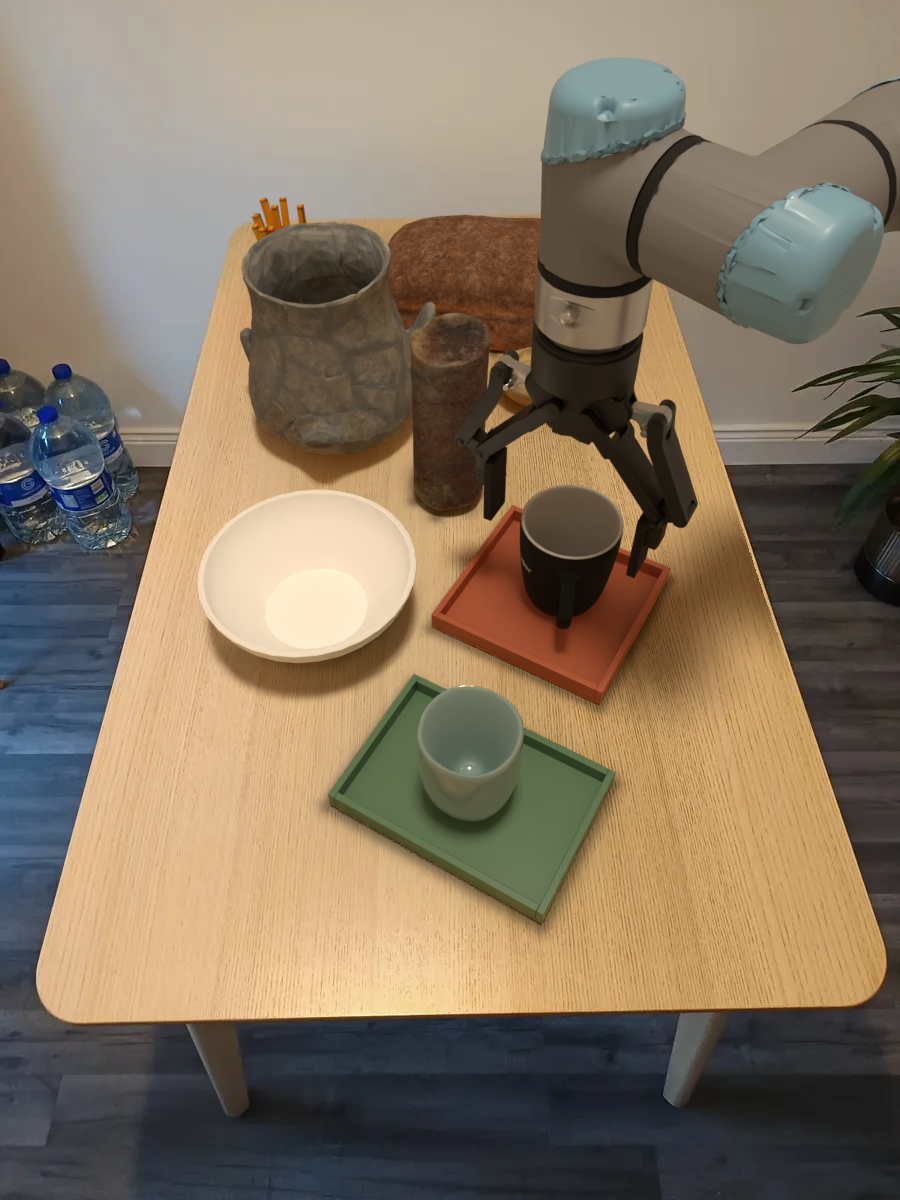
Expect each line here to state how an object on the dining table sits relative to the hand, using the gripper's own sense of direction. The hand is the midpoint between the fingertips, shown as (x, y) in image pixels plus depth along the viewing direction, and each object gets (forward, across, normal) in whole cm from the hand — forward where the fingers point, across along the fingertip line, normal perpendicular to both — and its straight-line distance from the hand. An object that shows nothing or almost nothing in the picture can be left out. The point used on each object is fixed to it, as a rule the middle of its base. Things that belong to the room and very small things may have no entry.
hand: (563, 537), depth 75 cm
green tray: (+10, +3, -21) cm, 23 cm away
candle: (+10, -16, +8) cm, 21 cm away
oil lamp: (+10, -13, +27) cm, 32 cm away
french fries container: (+9, -49, +26) cm, 57 cm away
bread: (+9, -27, +39) cm, 48 cm away
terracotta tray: (+10, 0, 0) cm, 10 cm away
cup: (+10, +2, -21) cm, 23 cm away
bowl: (+10, -19, -12) cm, 25 cm away
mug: (+9, +1, 0) cm, 9 cm away
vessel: (+9, -33, +12) cm, 37 cm away
